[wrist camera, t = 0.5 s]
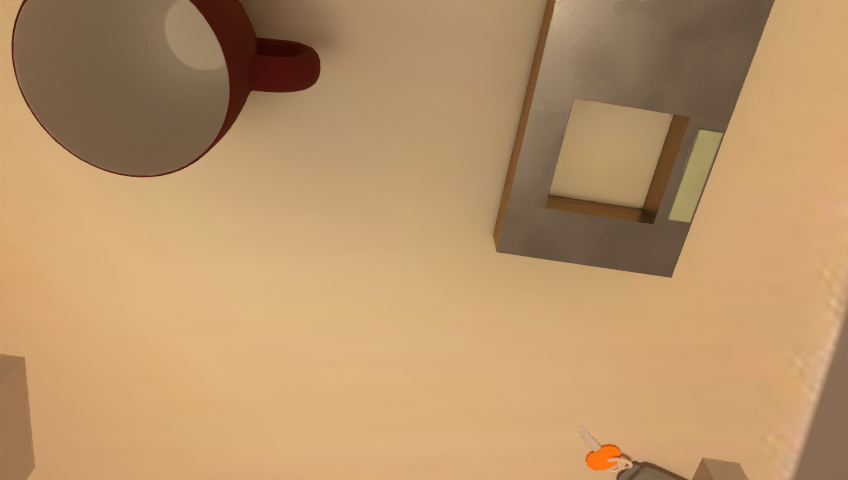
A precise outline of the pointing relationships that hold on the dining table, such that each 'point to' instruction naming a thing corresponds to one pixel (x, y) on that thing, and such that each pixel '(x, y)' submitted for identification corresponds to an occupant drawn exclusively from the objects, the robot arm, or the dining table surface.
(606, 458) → the key chain
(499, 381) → the dining table surface
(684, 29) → the panel
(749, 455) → the dining table surface
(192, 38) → the mug
